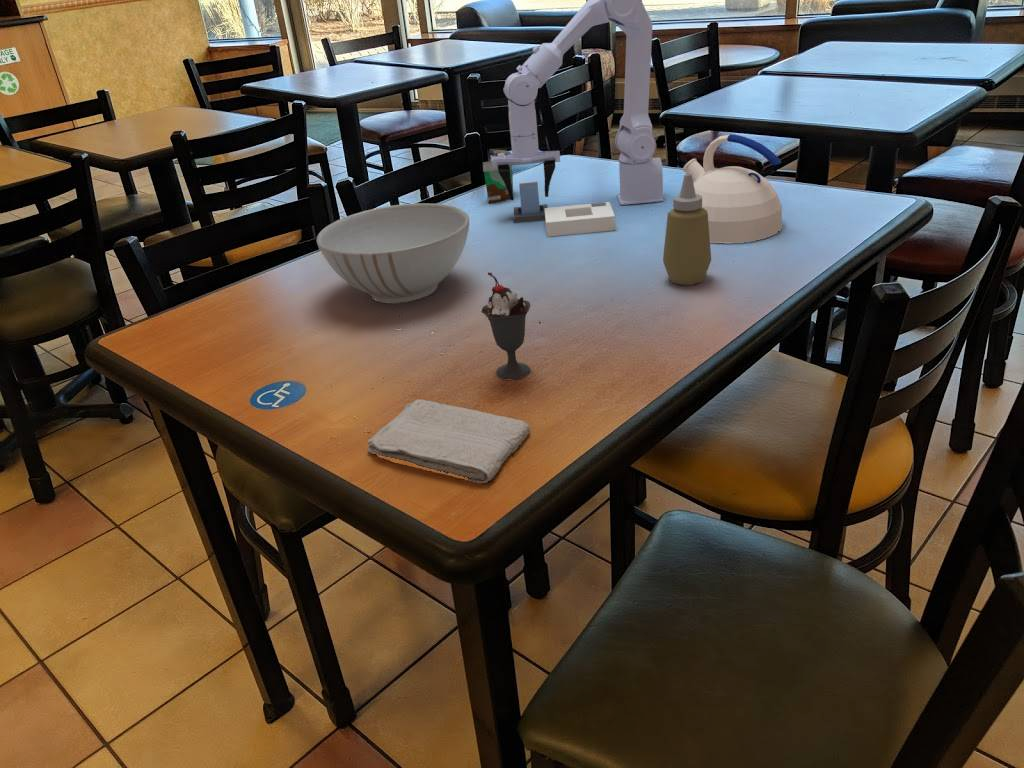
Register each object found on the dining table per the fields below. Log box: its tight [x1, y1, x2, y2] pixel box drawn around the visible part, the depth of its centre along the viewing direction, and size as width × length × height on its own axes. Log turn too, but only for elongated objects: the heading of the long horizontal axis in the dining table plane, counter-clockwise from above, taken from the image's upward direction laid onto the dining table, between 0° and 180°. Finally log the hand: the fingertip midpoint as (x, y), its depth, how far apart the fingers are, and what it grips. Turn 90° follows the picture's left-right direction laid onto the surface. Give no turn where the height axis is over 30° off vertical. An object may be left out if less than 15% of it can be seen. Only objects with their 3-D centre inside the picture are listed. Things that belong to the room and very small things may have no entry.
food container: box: [482, 149, 514, 204], centre depth 187 cm, size 12×6×10 cm, turn 168°
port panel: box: [544, 201, 616, 237], centre depth 164 cm, size 14×10×3 cm
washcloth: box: [366, 399, 531, 485], centre depth 96 cm, size 12×18×3 cm, turn 63°
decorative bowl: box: [316, 202, 470, 304], centre depth 140 cm, size 27×27×12 cm
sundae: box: [481, 272, 532, 380], centre depth 108 cm, size 7×7×15 cm
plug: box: [518, 181, 541, 215], centre depth 172 cm, size 4×4×7 cm
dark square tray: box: [513, 203, 549, 224], centre depth 174 cm, size 8×8×1 cm
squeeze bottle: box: [662, 173, 712, 286], centre depth 130 cm, size 8×8×18 cm
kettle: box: [682, 133, 783, 244], centre depth 151 cm, size 20×21×18 cm
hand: (529, 197), depth 172 cm, fingers open, 7 cm apart
